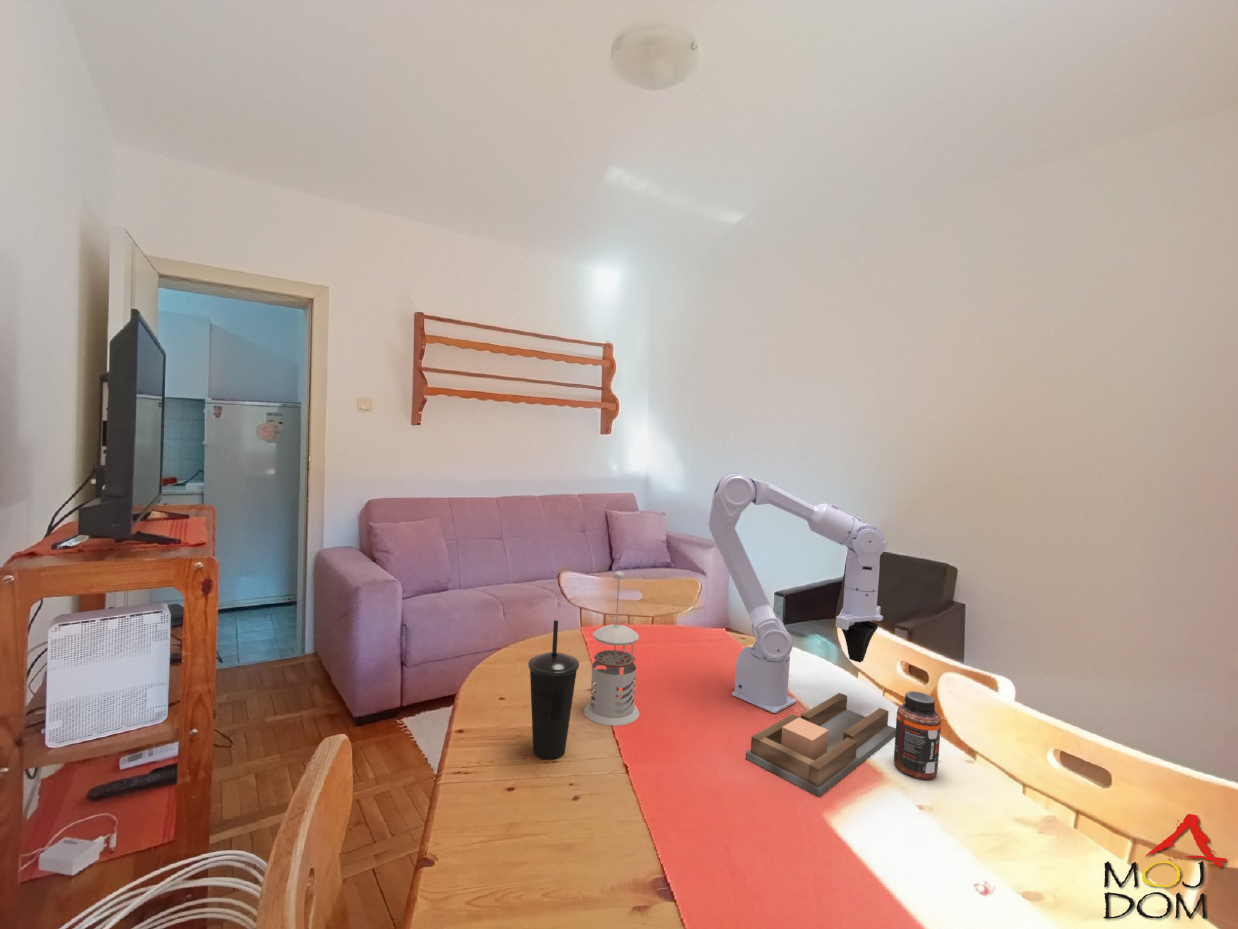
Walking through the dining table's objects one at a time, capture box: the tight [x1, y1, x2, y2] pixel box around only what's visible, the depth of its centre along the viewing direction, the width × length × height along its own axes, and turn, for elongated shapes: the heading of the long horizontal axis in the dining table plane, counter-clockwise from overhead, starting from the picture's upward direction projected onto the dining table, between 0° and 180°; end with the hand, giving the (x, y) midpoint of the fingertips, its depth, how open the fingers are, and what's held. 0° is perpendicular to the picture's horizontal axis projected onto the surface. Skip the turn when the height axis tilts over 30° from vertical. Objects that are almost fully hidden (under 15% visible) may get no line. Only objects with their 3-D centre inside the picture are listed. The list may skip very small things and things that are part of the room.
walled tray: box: [745, 692, 896, 798], centre depth 91 cm, size 12×28×4 cm, turn 133°
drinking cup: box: [527, 619, 580, 761], centre depth 85 cm, size 8×8×20 cm
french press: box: [583, 570, 640, 727], centre depth 99 cm, size 10×12×25 cm
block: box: [781, 717, 829, 761], centre depth 86 cm, size 5×5×4 cm
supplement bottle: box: [893, 691, 942, 780], centre depth 85 cm, size 6×6×11 cm
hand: (856, 660), depth 104 cm, fingers closed
